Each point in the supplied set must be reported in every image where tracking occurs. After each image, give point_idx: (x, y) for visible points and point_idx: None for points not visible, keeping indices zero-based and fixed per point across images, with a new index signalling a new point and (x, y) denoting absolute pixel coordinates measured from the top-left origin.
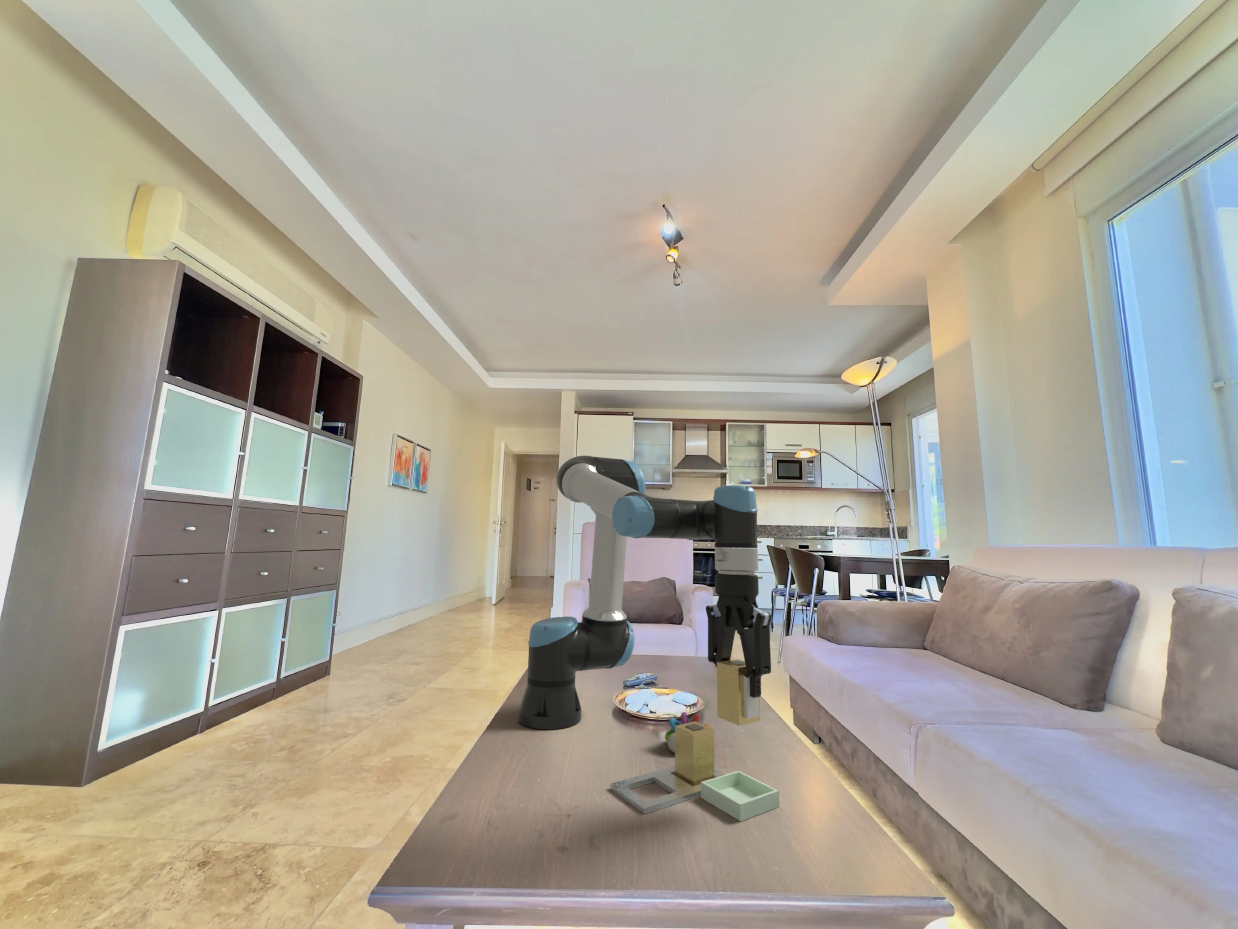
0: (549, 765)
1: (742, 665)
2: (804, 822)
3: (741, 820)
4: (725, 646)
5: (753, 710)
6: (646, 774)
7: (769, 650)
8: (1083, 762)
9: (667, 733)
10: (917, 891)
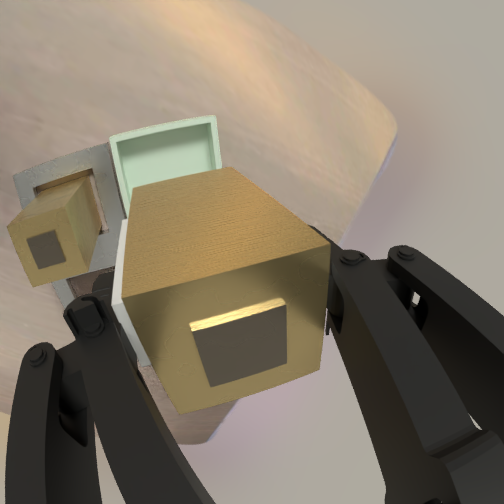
0: (18, 373)
1: (297, 342)
2: (263, 113)
3: None
4: (184, 458)
5: None
6: (55, 286)
7: (485, 309)
8: None
9: None
10: (395, 124)
